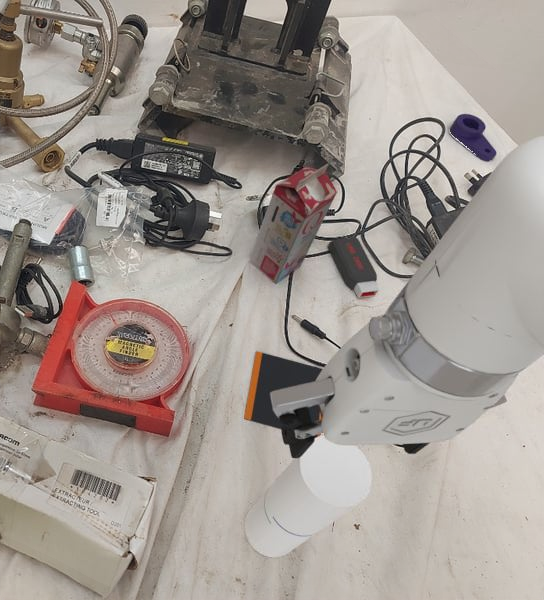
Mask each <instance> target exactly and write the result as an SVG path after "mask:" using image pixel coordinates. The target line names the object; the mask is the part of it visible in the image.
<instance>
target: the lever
mask: <svg viewBox="0 0 544 600" xmlns="http://www.w3.org/2000/svg"><path fill="white" fill-rule="evenodd" d="M449 129H450V132H451V134H452V135H453V136H454V137H455V138H457V139H458V140H459V141H460V142H462V143H463V144H464V145H465V146H467V148H469V149H470V150H471V151H473V153H475V154H476V155H477V156H478V157H479V158H480V159H479V158H478V157H477V156H476V157H477V158H478V159H479V160H481V159H482V160H481V161H483V160H484V162H491V161H490V160H492V159H493V160H494V159H495V157H496V156H497V150H496V149H495V147H494V146H493V145H492V144H491V143H490V142H489V140H488V139H487V137H486V136H485V134H483V133H484V132H485V130H486V123H485V122H484V121H483V120H482V119H481V118H479V116H476V115H474V114H469V113H461V114H459V115H457V117H456V118H455V119H454V121H453V122H452V124H451V126H450V127H449ZM473 153H472V154H473ZM493 160H492V161H493Z"/></svg>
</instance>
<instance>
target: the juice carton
mask: <svg viewBox="0 0 544 600" xmlns="http://www.w3.org/2000/svg"><path fill="white" fill-rule="evenodd" d="M329 165H330V164H329V163H326V164H325V165H323V166H322V167H320V168H319V169H316V168H312V167H303V168H302V169H300V170H298V171H296V172H295V173H294V174H291V175H290V176H288V177H287V178H285V179H284V180H281V182H278V183H277V184H276V185H275V187H274V189H273V192H272V194H271V198H270V201H269V202H268V206H267V209H266V212H265V215H264V217H263V220H262V223H261V226H260V228H259V231H258V234H257V236H256V240H255V242H254V244H253V248H252V251H251V254H250V255H249V258H248V262H250V263H251V264H252V265H253V266H254V267H255V268H257V269H258V270H259V271H260V272H261V273H262V274H263V275H264V276H265V277H267V278H268V279H269V280H270V281H271V282H272V283H273V284H275V285H277V284H278V283H280V282H282V281H283V280H284V279H285V278H287V277H288V276H289V275H291V274H292V273H293V272H292V271H294V272H295V271H296V270H298V269H299V268H301V267H302V265H303V263H304V261H305V259H306V256H307V254H308V253H309V250H310V248H311V247H312V245H313V242H314V240H315V238H316V236H317V234H318V233H319V230H320V228H321V226H322V224H323V222H324V220H325V218H326V216H327V214H328V212H329V210H330V208H331V206H332V204H333V201H334V200H335V197H336V196H337V194H338V191H337V188H336V187H335V185H334V184H333V182H332V181H331V179H330V177H329V176H328V174H327V172H326V171H327V169H328V167H329ZM291 272H292V273H291ZM290 273H291V274H290Z"/></svg>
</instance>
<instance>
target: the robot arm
mask: <svg viewBox="0 0 544 600" xmlns="http://www.w3.org/2000/svg"><path fill="white" fill-rule="evenodd" d="M543 356H544V134H543V135H540V136H536V137H533V138H530V139H528V140H527V141H525V142H523V143H521V144H519V145H518V146H516V147H515V148H513V149H512V150H511V151H510V152H509V153H507V154H506V155H505V156H504V157H503V158H502V160H501V161H500V162H499V163H498V164H497V166H496V167H495V168H494V169H493V170H492V171H491V172H490V174H489V175H488V176H487V178H486V179H485V180H484V182H483V183H482V184H481V186H480V187H479V189H478V190H477V191H476V192H475V194H474V195H473V197H471V199H470V200H469V201H468V203H467V204H466V206H465V207H464V208H463V209H462V210H461V212H460V213H459V215H458V216H457V217H456V219H455V220H454V221H453V222H452V223H451V225H450V226H449V228H448V229H447V230H446V232H445V233H444V234H443V236H442V237H441V238H440V239H439V241H438V242H437V243H436V244H435V246H434V248H433V249H432V250H431V252H430V253H429V254H428V256H427V257H426V258H425V259H424V260H423V262H422V263H421V264H420V265H419V266H418V268H417V269H416V271H415V272H414V273H413V275H411V277H410V278H409V280H408V281H407V283H406V284H405V285H404V287H403V288H402V289H401V290H400V291H399V293H398V294H397V296H396V297H395V298H394V300H393V301H392V302H391V304H389V306H388V307H387V309H386V311H385V312H384V313H383V314H381V315H378V316H373V317H371V318H370V320H369V322H368V323H366V324H365V325H364V326H363V327H361V329H359V330H358V331H357V332H356V333H355V334H354V335H352V336H351V337H350V339H348V341H346V342H345V343H344V344H343V345H342V346H341V348H340V349H338V350H337V351H336V353H334V355H332V356H331V358H330V359H329V361H328V362H327V363H326V364H325V365H324V367H323V368H322V369H323V370H322V371H321V373H320V374H319V376H318V377H317V379H316V381H314V382H310V383H305V384H301V385H297V386H292V387H288V388H283V389H279V390H275V391H272V392H270V398H271V403H272V408H273V411H274V413H275V414H276V416H277V417H278V418H279V421H280V424H282V428H281V429H280V433H281V437H282V442H283V444H284V445H287V446H288V448H289V453H290V456H291V458H292V459H295V458H300V457H301V456H302V455H303V454H304V453H305V452H306V451H307V449H308V448H309V447H310V446H311V445H312V444H313V443H314V441H315V437H314V435H317V434H320V433H324V436H325V438H326V439H327V440H328V441H330V442H332V443H334V444H338V445H355V446H383V445H385V446H387V445H388V446H389V445H402V447H403V451H404V452H405V453H407V454H408V455H416V454H418V453H419V452H420V451H421V450H423V449H424V448H426V447H427V446H428V445H429V444H432V443H439V442H445V441H449V440H452V439H453V438H455V437H457V436H459V434H461V433H463V432H464V431H465V430H466V429H468V428H469V427H470V426H471V425H473V424H474V423H475V422H476V421H477V420H479V419H480V418H481V417H482V416H483V415H485V414H486V412H488V411H489V410H490V409H493V408H496V407H497V406H501V405H503V404H505V403H507V401H508V399H507V397H506V395H505V394H506V393H507V392H508V390H509V389H510V388H511V386H512V385H513V384H514V383H515V381H516V379H517V377H518V376H519V374H520V373H521V372H523V371H524V370H525V369H527V368H528V367H529V366H531V365H532V364H534V363H535V362H536V361H537V360H538V359H540V358H542V357H543ZM317 404H318V405H319V409H320V413H321V417H322V419H320V420H317V421H315V422H312V420H311V416H310V411H309V409H308V408H309V407H311V406H314V405H317Z"/></svg>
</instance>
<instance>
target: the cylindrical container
mask: <svg viewBox="0 0 544 600" xmlns="http://www.w3.org/2000/svg"><path fill="white" fill-rule="evenodd" d="M372 484H373V473H372V469H371V466H370V463H369V461H368V458H367V457H366V456H365V454H364V453H363V452H362V451H361V449H360V448H359V447H358V446H357V445H338V444H334V443H332V442H330V441H328V440H327V439H326V438H325V436H319V437H317V438H315V441H314V443H313V444H312V445H311V446H310V447H309V448H308V449H307V451H306V452H305V453H304V454H303V455H302V456H301V457H300V458H293V460H292V461H291V462H290V463H289V464H288V465H287V466H286V467H285V469H284V470H283V471H282V472H281V473H280V475H278V476H277V478H276V479H275V480H274V481H273V483H272V484H271V485H270V486H269V487H268V488H267V490H266V491H264V493H263V494H262V495H261V496H260V497H259V498H258V500H257V501H256V502H255V503H254V504H253V506H252V507H251V508H250V509H249V510H248V512H247V514H246V515H245V518H244V523H243V527H244V534H245V537H246V540H247V541H248V543H249V545H250V546H251V548H253V550H254V551H256V552H257V553H259V554H260V555H262V556H264V557H267V558H271V559H278V558H282V557H284V556H286V555H288V554H289V553H291V552H293V551H294V550H295V549H296V548H298V547H299V546H301V545H302V544H303V543H304V542H306V541H307V540H309V539H311V538H312V537H313V536H315V535H316V534H318V533H319V532H320V531H322V530H323V529H325V528H327V527H328V526H329V525H330V524H332V523H333V522H334V521H336V520H337V519H339V518H340V517H341V516H343V515H344V514H346V513H347V512H348V511H350V510H352V509H353V508H354V507H356V506H357V505H359V504H360V503H361V502H362V501H363V500H365V499H366V497H367V496H368V495H369V493H370V491H371V488H372Z"/></svg>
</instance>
